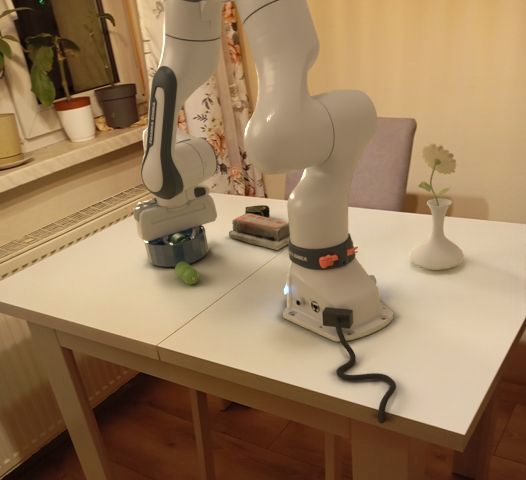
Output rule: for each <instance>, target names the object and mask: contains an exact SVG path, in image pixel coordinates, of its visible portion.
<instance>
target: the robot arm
mask: <svg viewBox="0 0 526 480" xmlns="http://www.w3.org/2000/svg"><path fill="white" fill-rule="evenodd" d="M230 2H231V3H232V2H234V5H235V7H236V9H237V12H238V16H239V19H240V22H241V25H242V29H243V32H244V34H245V37H246V40H247V44H248V47H249V50H250V53H251V58H252V61H253V64H254V67H255V73H256V78H257V97H256V103H255V107H254V110H253V113H252V115H251V117H250V118H249V120H248V122H247V123H246V127H245V129H244V135H243V145H244V150H245V154H246V156H247V159H248V161H249V162H250V164H251V165H252V166H253V167H254V168H255V169H256V170H257V171H258V172H259V173H261V174H263V175H266V176H276V175H289V174H293V173H296V172H299V171H302V170H303V173H302V174H301V178H300V180H299V181H298V183H297V185H295V187H294V188H293V190H292V191H291V192H290V194H289V196H288V199H287V202H286V203H287V204H286V209H287V218H288V219H287V220H288V223H289V231H290V238H289V240H288V244H287V248H288V249H287V251H288V255H289V257H288V258H289V260H290V261H291V262H290V267H289V270H288V272H287V275H286V284H285V287H284V288H283V294H284V295H286V306H285V308H284V309H283V311H282V318H283V319H285V320H287V321H289V322H291V323H293V324H295V325H297V326H300V327H303V328H304V329H307V330H309V331H311V332H313V333H315V334H317V335H320V336H323V337H324V338H326V339H328V340H330V341H332V342H333V341H334V342H337V343H339V342H340V343H341V345H342V346H343V348H344V350H345V351H346V352H347V353H348V354H349V360H348V361H347V362H346V363H344V364H342V365H340V366H339V367H338V368H337V369H336V370H335V371H336V376H337V377H339V378H340V379H341V380H344V381H349V382H355V381H369V380H381V381H383V382H386V383H387V384H388V385H389V387H388V389H387V391H386V392H385V393H384V395H383V397H382V398H381V400H380V402H379V406H378V412H377V414H378V415H377V418H378V419H377V421H378V423H380V424H385V422H386V408H387V404H388V402H389V401H390V399H391V397H392V396H393V395H394V393H395V391H396V390H397V385H396V384H397V383H396V381H394V379H392V377H391V376H389V375H387V374H384V373H378V372H376V373H375V372H372V373H371V372H370V373H361V374H346V373H344V372H345V371H346V370H348V369H350V368H352V367H353V365H355V363H356V359H357V357H356V353H355V351H354V349H353V348H352V347H351V345H350V344H349V342H348V341H353V340H356V339H360V338H364V337H366V336H369V335H372V334H373V333H375V332H377V331H379V330H381V329H383V328H385V327H386V326H388V325H389V324H390V323H391V322H393V319H394V318H395V315H394V312H393V311H392V310H391V309H390V308H389V307H388V306H386V305H385V304H384V303H383V302H382V301H381V295H380V290H379V288H378V286H377V278H376V276H375V275H374V274H369V273H368V272H367V271H366V269H365V268H364V267H363V265H362V264H361V263H360V261H359V260H358V259H357V257H356V256H357V255H356V254H357V253H359V251H358V250H357V249H359V246H355V247H354V241H353V240H352V239H353V238H352V236H351V233H350V232H349V197H350V190H351V185H352V181H353V178H354V174H355V171H356V168H357V165H358V163H359V160H360V158H361V156H362V154H363V152H364V150H365V149H366V147H367V146H368V144H369V143H370V142H371V140H372V139H373V138H374V136H375V134H376V131H377V126H378V114H377V108H376V106H375V103H374V102H373V100H372V98H371V97H370V96H369V95H368V94H367V93H366V92H364V91H363V90H359V89H333V90H329V91H326V92H321V93H318V94H313V95H310V92H309V88H308V72H309V71H310V70H311V68H312V67H313V66H314V64H315V63H316V61H317V59H318V57H319V54H320V48H321V46H320V41H319V37H318V34H317V30H316V27H315V24H314V21H313V17H312V14H311V11H310V8H309V5H308V1H307V0H164V6H163V8H164V9H163V41H162V42H163V43H162V50H161V57H160V59H159V60H160V61H159V63H158V66H157V69H156V71H155V73H154V74H153V77H152V81H151V86H150V94H149V105H148V117H147V127H146V128H145V129H144V130H143V132H142V145H143V157H142V161H141V166H140V176H141V180H142V183H143V185H144V187H145V188H146V190H147V191H148V192H150V193H151V194H152V195H153V198H150V199H147V200H144V201H140V202H138V203H137V202H136V203H137V204H136V205H134V207H133V208H132V214H133V218H134V221H135V222H136V227H137V228H136V229H137V234H138V237H139V238H140V239H141V240H143V242H144V241H146V242H148V241H151V240H154V239H157V238H160V239H161V240H162V241H163V242H164V243H165V244H166V245H173V243H172V242H170V243H169V242H168V241H167V240H168V235H171V234H174V233H177V232H180V231H184V230H187V229H190V228H191V229H193V232H192V236H190V237H189V239H190V240H192V239H194V238H196V237H197V236H198V233H199V230H200V228H199V226H200V225H202V226H204V225H207V224H209V223H212V222H215V221H216V220H217V218H218V213H217V212H218V211H217V208H216V204H215V201H214V198H213V197H212V196H211V195H210V193H211V192H210V187H209V186H208V185H206V184H205V183H203V182H206V181H208V180H210V179H211V178H212V177H214V176H215V174H216V172H217V170H218V157H217V153H216V150H215V149H214V147H213V145H212V144H211V143H210V142H209V141H208V140H206V139H205V138H203V137H196V136H194V135H191V134H189V133H187V132H186V131H184V130H182V129H181V128H180V127H179V126H178V122H179V115H180V113H181V110H182V108H183V106H184V104H185V103H186V101H187V100H188V99H189V98H190V97H191V96H192V95H193V94H194V93H195V92H196V91H197V90H198V89H199V88H201V87H202V86H204V85H205V84H206V83H207V82H208V81H209V80H210V79H211V78H212V77H213V76H214V74H215V73H216V72H217V69H218V65H219V62H220V59H221V50H222V14H223V13H222V11H223V8H224V6H225V4H226V3H230ZM166 239H167V240H166Z"/></svg>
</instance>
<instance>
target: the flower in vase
mask: <svg viewBox="0 0 526 480" xmlns="http://www.w3.org/2000/svg"><path fill="white" fill-rule="evenodd" d="M421 150H422V151H421V158H422V159H423V160H424V162H425V164H426V165H427V166H428V167H429V168H431V169H432V171H431V174H430V178H429V183H427V182H426V181H423V180H422V181H421V182H420V183H419V184H418V186H417V187H418V188H421V189H423V190H425V191H427V192H429V193H430V192H432V194H433V197H434V198H431V199H429V200H427V201H426V205H427V206H428V207H429V210H430V213H431V217H432V219H431V220H432V226H431V227H432V228H431V233H430V235H429V236H428V237H427V238H426V239H425V240H423V241H421V242H420V243H419V244H417V245H416V246H415V247H414V248H413V249H411V251H410V253H409V256H408V257H409V261H411V263H412V264H413V265H414V266H416V267H419V268H421V269H425V270H432V271H433V270H434V271H439V270H440V271H441V270H447V269H451V268H454V267H457V266H458V265H460V264H461V263H462V262H463V260H464V259H465V255H464V252H463V250H462V249H461V248H460V247H459V246H458V245H457V244H456V243H454V242H453V241H451V240H450V239H448V238H447V237H446V235H445V233H444V226H445V225H444V223H445V218H446V214H447V211H448V209H449V208H450V206H451V205H452V203H453V201H452V200H451V199H449V198H445V197H439V196H442V195H444V194H446V193H447V192H448V191H450V189H451V188H452V186H450V187H447V188H444V189H442V190H440V191H439V192H437V193H435V190H434V187H433V184H432V180H433V176H434V174H435V171H436V172H437V173H439V174H442V175H447V174H448V175H451V174H452V173H456V169H457V160H456V159H455V158H454V156H455V155H454V154H453V153H452V152H450V151H449V150H448V149H445V148H444V145H442V144H439V145H438V146H437V144H436V143H428V145H424V146H423V147H421Z"/></svg>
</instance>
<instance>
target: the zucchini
mask: <svg viewBox="0 0 526 480" xmlns="http://www.w3.org/2000/svg"><path fill="white" fill-rule="evenodd" d="M189 240H190V239H189V238H187V237H186V236H184V235H183V234H181V233H176V234H174V235H172V237H171V239H170V242H172V243H173V244H179V243H183V242H186V241H189Z"/></svg>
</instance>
